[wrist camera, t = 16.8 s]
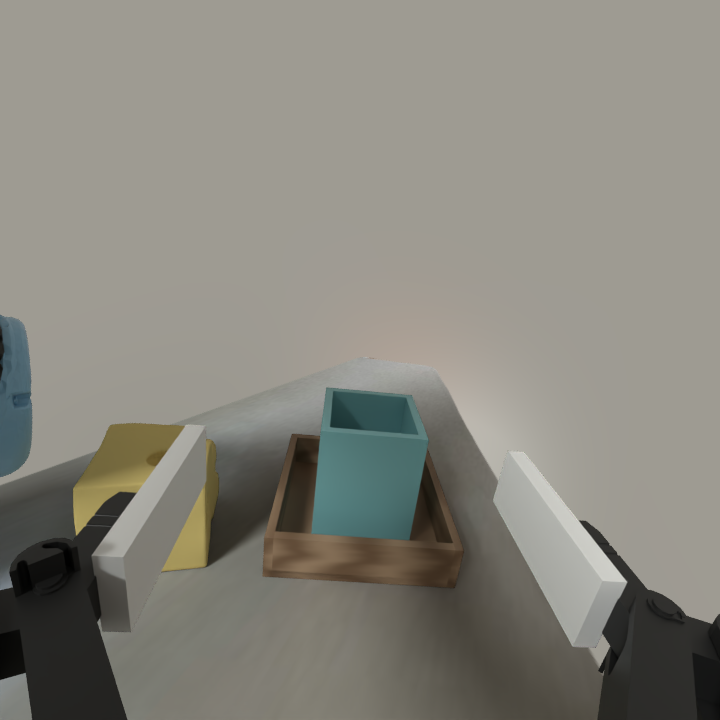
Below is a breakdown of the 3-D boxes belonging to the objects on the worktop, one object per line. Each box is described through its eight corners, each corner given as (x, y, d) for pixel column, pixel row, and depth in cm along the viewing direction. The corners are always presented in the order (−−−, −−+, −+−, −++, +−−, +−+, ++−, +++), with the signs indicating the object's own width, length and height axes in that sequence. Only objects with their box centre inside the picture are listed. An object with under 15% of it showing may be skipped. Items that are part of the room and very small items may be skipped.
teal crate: (310, 539, 39) (320, 431, 35) (317, 478, 49) (326, 387, 45) (408, 546, 40) (428, 440, 36) (396, 484, 49) (411, 395, 45)
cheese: (219, 496, 45) (218, 419, 42) (209, 574, 35) (208, 482, 32) (117, 503, 42) (108, 421, 39) (76, 590, 32) (60, 491, 29)
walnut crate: (262, 576, 36) (264, 537, 34) (290, 462, 53) (292, 433, 51) (454, 587, 37) (464, 550, 35) (420, 473, 54) (426, 445, 52)
